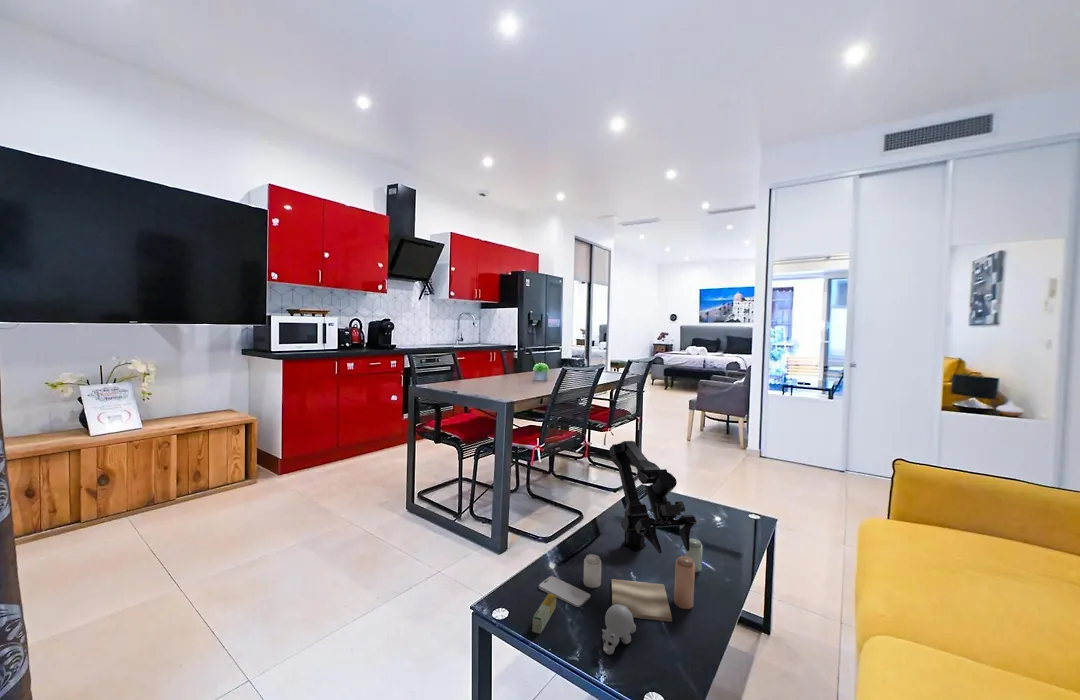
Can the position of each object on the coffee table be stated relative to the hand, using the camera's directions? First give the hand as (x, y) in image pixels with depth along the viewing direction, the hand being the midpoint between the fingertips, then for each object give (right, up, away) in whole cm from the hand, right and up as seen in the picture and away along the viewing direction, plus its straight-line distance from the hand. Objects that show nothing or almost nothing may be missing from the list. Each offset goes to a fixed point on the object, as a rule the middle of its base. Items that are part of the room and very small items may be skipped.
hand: (674, 552), depth 133 cm
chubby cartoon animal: (-22, -13, -22) cm, 34 cm away
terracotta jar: (+1, -13, -5) cm, 14 cm away
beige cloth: (-12, -12, -5) cm, 17 cm away
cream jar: (-25, -11, +4) cm, 27 cm away
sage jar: (+11, -12, +14) cm, 21 cm away
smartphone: (-34, -12, -1) cm, 36 cm away
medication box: (-40, -12, -14) cm, 44 cm away
